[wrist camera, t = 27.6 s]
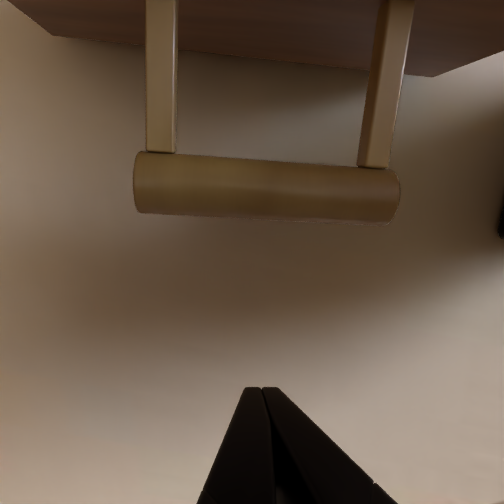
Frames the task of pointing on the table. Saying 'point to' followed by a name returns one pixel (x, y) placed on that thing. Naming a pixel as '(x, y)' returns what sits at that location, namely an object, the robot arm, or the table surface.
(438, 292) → the table surface
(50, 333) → the table surface
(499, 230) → the robot arm
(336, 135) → the table surface
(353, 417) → the table surface
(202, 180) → the drawer
